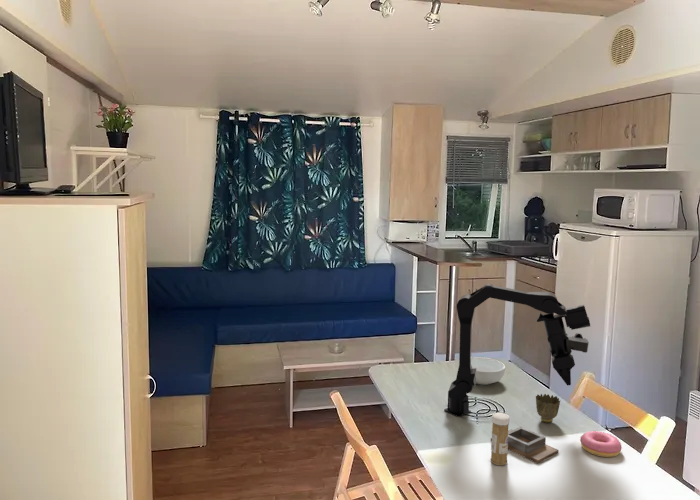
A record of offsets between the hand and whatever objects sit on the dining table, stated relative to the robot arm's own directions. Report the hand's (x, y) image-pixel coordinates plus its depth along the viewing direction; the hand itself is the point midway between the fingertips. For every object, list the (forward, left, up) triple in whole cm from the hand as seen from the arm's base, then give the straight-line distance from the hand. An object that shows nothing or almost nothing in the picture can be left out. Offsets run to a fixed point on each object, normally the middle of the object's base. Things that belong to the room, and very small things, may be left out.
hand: (567, 380), depth 169 cm
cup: (-6, -1, -16) cm, 17 cm away
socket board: (0, -22, -15) cm, 27 cm away
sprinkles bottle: (+1, -35, -16) cm, 39 cm away
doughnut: (+14, -5, -16) cm, 22 cm away
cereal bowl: (-42, +11, -16) cm, 46 cm away
